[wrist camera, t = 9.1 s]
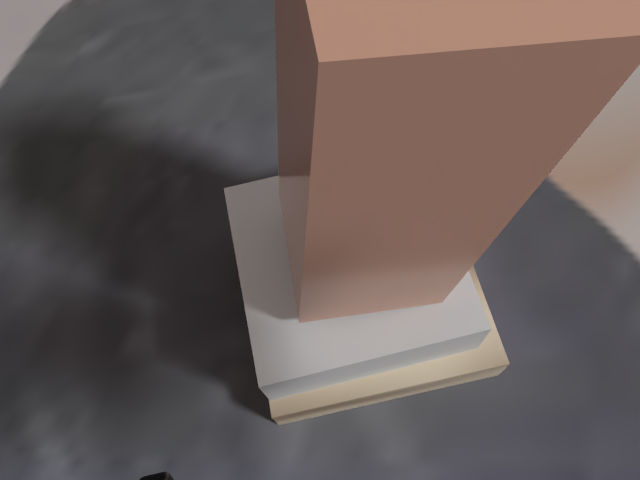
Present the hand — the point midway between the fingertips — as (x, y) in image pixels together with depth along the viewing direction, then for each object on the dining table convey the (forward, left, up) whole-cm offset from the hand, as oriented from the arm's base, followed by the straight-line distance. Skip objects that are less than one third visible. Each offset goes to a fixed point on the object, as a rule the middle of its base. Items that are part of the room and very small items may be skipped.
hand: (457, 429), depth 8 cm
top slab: (+5, +5, -11) cm, 14 cm away
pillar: (+6, +5, -8) cm, 11 cm away
